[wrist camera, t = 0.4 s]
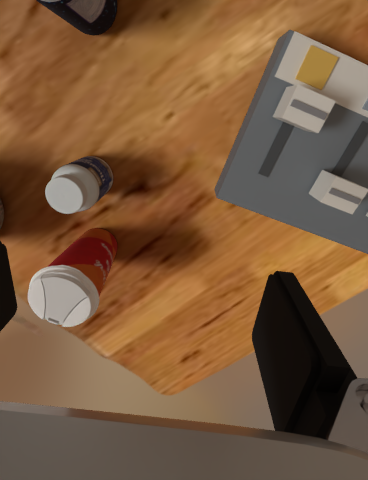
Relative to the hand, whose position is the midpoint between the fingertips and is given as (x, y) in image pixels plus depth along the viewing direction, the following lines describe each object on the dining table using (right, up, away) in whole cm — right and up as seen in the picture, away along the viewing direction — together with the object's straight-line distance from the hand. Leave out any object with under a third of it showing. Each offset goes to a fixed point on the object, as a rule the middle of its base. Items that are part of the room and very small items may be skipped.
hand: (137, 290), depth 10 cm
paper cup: (-11, +1, +32) cm, 34 cm away
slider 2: (+19, +8, +23) cm, 31 cm away
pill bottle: (-11, +11, +28) cm, 31 cm away
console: (+20, +12, +26) cm, 35 cm away
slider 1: (+14, +16, +20) cm, 29 cm away
